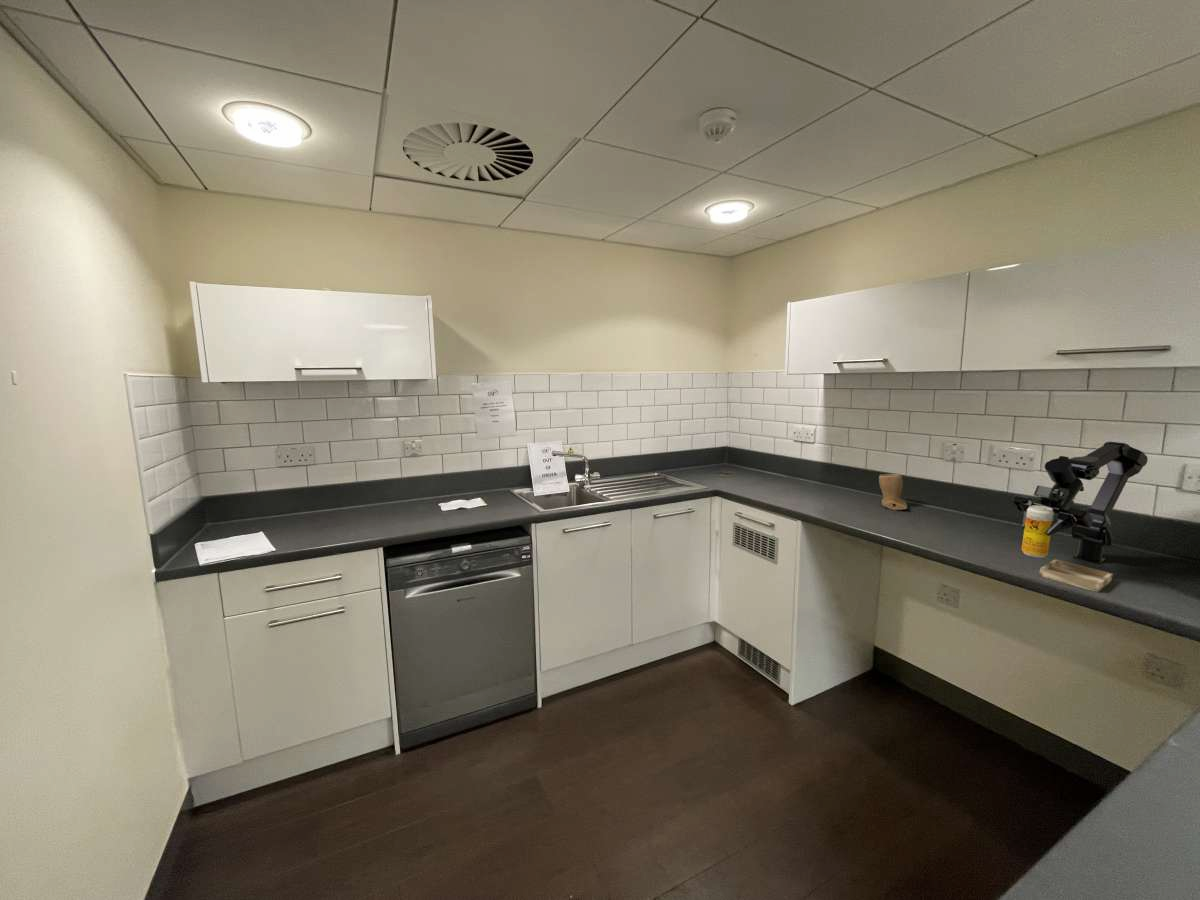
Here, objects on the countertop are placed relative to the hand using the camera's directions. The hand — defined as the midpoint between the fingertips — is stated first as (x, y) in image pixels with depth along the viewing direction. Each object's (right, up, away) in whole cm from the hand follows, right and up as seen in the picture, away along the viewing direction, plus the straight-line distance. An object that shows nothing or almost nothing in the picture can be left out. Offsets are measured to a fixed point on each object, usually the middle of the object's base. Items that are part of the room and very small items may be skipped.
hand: (1035, 531), depth 147 cm
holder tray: (+10, -14, -2) cm, 17 cm away
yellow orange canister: (+1, -8, +2) cm, 8 cm away
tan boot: (+1, -1, +74) cm, 74 cm away
